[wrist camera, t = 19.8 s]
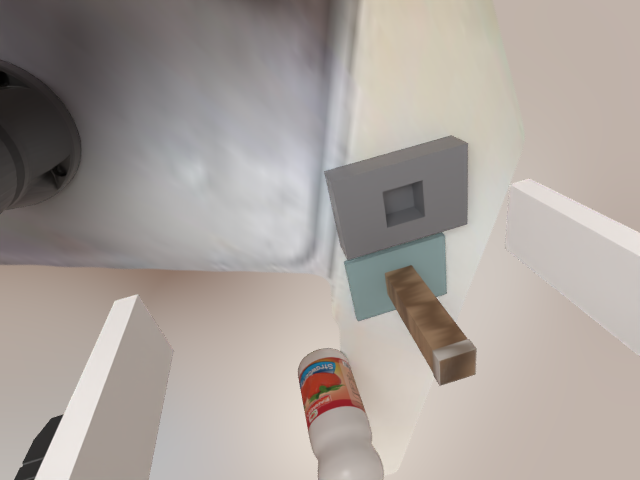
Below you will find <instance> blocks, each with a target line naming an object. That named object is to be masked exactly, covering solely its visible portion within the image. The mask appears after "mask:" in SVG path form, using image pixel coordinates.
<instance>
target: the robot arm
mask: <svg viewBox="0 0 640 480" xmlns="http://www.w3.org/2000/svg"><path fill="white" fill-rule="evenodd" d="M80 157H81V145H80V138H79V134H78V131H77V128H76V125H75V123H74V121H73V119H72V117H71V115H70V113H69V112H68V110H67V109H66V107H65V106H64V105H63V103H62V102H61V101H60V99H59V98H58V97H57V96H56V95H55V94H54V93H53V92H52V91H51V90H50V89H49V88H48V87H47V86H46V85H44V84H43V83H42V82H41V81H39V80H38V79H37V78H35V77H34V76H32V75H31V74H29V73H28V72H26V71H24V70H22V69H21V68H19V67H17V66H15V65H12V64H10V63H8V62H5V61H2V60H0V214H1V213H2V212H3V211H4V210H8V209H14V208H19V207H24V206H29V205H34V204H37V203H40V202H42V201H44V200H46V199H48V198H50V197H52V196H54V195H55V194H56V193H58V192H59V191H60V190H61V189H62V188H63V187H64V186H66V185H67V184H68V183H69V182H70V180H71V179H72V178H73V176H74V175H75V173H76V171H77V169H78V166H79V162H80ZM505 249H506V250H508V251H509V252H510V253H511V254H512V255H514V256H515V257H516V258H517V259H518V260H520V261H521V262H522V263H523V264H525V265H526V266H527V267H528V268H530V269H531V270H532V271H534V272H535V273H536V274H537V275H538V276H540V277H541V278H542V279H543V280H545V281H546V282H547V283H549V284H550V285H551V286H552V287H553V288H555V289H556V290H557V291H559V292H560V293H561V294H562V295H563V296H565V297H566V298H567V299H568V300H570V301H571V302H572V303H573V304H575V305H576V306H577V307H579V308H580V309H581V310H582V311H583V312H585V313H586V314H587V315H589V316H590V317H591V318H592V319H594V320H595V321H596V322H597V323H598V324H600V325H601V326H602V327H604V328H605V329H606V330H607V331H609V332H610V333H611V334H612V335H614V336H615V337H616V338H617V339H619V340H620V341H621V342H622V343H623V344H625V345H626V346H627V347H629V348H630V349H631V350H632V351H634V352H635V353H636V354H637V355H639V356H640V233H639V232H637V231H635V230H633V229H631V228H629V227H627V226H625V225H623V224H620V223H619V222H616V221H615V220H612V219H610V218H609V217H607V216H605V215H602V214H600V213H599V212H596V211H594V210H592V209H590V208H588V207H586V206H584V205H582V204H580V203H578V202H576V201H574V200H572V199H570V198H568V197H566V196H564V195H562V194H560V193H558V192H556V191H554V190H552V189H550V188H548V187H546V186H544V185H542V184H540V183H538V182H536V181H534V180H532V179H530V178H529V179H526V180H523V181H519V182H516V183H512V184H509V198H508V211H507V225H506V240H505ZM172 356H173V348H172V347H171V345H170V344H169V342H168V341H167V339H166V337H165V336H164V334H163V333H162V331H161V329H160V328H159V326H158V325H157V324H156V322H155V320H154V318H153V317H152V315H151V314H150V312H149V310H148V309H147V307H146V306H145V304H144V303H143V301H142V299H141V298H140V296H139V295H138V294H136V295H133V296H130V297H126V298H123V299H119V300H116V301H115V302H114V304H113V306H112V309H111V310H110V313H109V315H108V317H107V320H106V322H105V324H104V326H103V328H102V330H101V333H100V335H99V337H98V340H97V342H96V344H95V346H94V348H93V351H92V353H91V355H90V357H89V359H88V362H87V364H86V366H85V369H84V371H83V373H82V375H81V377H80V380H79V382H78V384H77V386H76V388H75V391H74V393H73V395H72V397H71V399H70V402H69V404H68V406H67V409H66V411H65V413H64V414H63V415H61V416H57V417H54V418H51V419H50V421H49V422H48V423H47V424H46V426H45V427H44V428H43V429H42V431H41V432H40V433H39V434H38V435H37V437H36V438H35V439H34V441H33V443H32V445H31V447H30V449H29V451H28V453H27V455H26V457H25V459H24V461H23V467H21V468H20V469H19V471H18V473H17V475H16V477H15V479H14V480H148V479H149V475H150V469H151V464H152V459H153V454H154V448H155V444H156V439H157V433H158V427H159V423H160V418H161V413H162V408H163V402H164V397H165V392H166V387H167V382H168V376H169V372H170V366H171V361H172Z"/></svg>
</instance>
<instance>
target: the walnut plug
mask: <svg viewBox="0 0 640 480" xmlns="http://www.w3.org/2000/svg"><path fill="white" fill-rule="evenodd" d="M385 279H386V287H387V294H388V296H389V298H390V299H391V301H392V303H393V305H394V306H395V308H396V310H397V311H398V313H399V315H400V317H401V318H402V320H403V322H404V323H405V325H406V327H407V329H408V330H409V332H410V334H411V335H412V337H413V339H414V341H415V342H416V344H417V346H418V348H419V349H420V351H421V353H422V354H423V356H424V358H425V360H426V361H427V363H428V365H429V366H430V368H431V370H432V372H433V374H434V377H435V379H436V380H437V382H438V384H439V386H441V385H444V384H447V383H450V382H453V381H457V380H459V379H463V378H466V377H469V376H472V375H475V374H476V347H475V346H474V345H473V344H472V342H471V341H470V340H469V339H467V337H466V336H465V335H464V334H463V332H462V331H461V330H460V328H459V327H458V326H457V324H456V323H455V322H454V320H453V319H452V318H451V316H450V315H449V314H448V312H447V311H446V310H445V309H444V307H443V306H442V305H441V303H440V302H439V301H438V299H437V298H436V297H435V295H434V294H433V293H432V291H431V290H430V289H429V287H428V286H427V285H426V283H425V282H424V281H423V280H422V278H421V277H420V276H419V274H418V273H417V272H416V270H415V269H414V268H413V266H412V265H410V266H407V267H403V268H400V269H397V270H393V271H390V272H386V273H385Z"/></svg>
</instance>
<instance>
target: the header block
mask: <svg viewBox="0 0 640 480" xmlns="http://www.w3.org/2000/svg"><path fill="white" fill-rule="evenodd" d="M324 172H325V177H326V182H327V186H328V191H329V195H330V200H331V204H332V209H333V213H334V218H335V223H336V227H337V232H338V236H339V241H340V245H341V248H342V250H343V252H344V254H345V256H346V258H347V260H349V259H353V258H356V257H359V256H363V255H366V254H369V253H373V252H376V251H379V250H383V249H386V248H389V247H393V246H396V245H399V244H403V243H406V242H409V241H413V240H416V239H419V238H423V237H426V236H429V235H433V234H436V233H439V232H443V231H446V230H449V229H453V228H456V227H459V226H463V225H466V224H467V188H468V143H466V142H464V141H462V140H460V139H458V138H456V137H454V136H452V135H451V136H448V137H444V138H441V139H437V140H434V141H430V142H427V143H423V144H420V145H416V146H413V147H409V148H406V149H402V150H398V151H395V152H391V153H388V154H384V155H381V156H377V157H374V158H370V159H367V160H363V161H360V162H356V163H352V164H349V165H345V166H342V167H338V168H335V169H331V170H328V171H324Z"/></svg>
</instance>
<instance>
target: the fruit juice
mask: <svg viewBox="0 0 640 480" xmlns="http://www.w3.org/2000/svg"><path fill="white" fill-rule="evenodd" d="M298 378H299V383H300V389H301V394H302V400H303V405H304V411H305V416H306V421H307V427H308V432H309V438H310V443H311V446H312V450H313V453H314V455H315V456H316V458H317V459H318V480H383V478H384V470H383V465H382V462H381V459H380V456H379V455H378V453H377V451H376V450H375V448H374V447H373V445H372V432H371V427H370V424H369V420H368V417H367V414H366V412H365V409H364V406H363V403H362V400H361V397H360V394H359V391H358V388H357V386H356V383H355V380H354V377H353V374H352V371H351V368H350V365H349V362H348V360H347V358H346V357H345V355H344V354H343V353H342V352H340V351H338V350H336V349H331V348H325V349H319V350H316V351H313V352H311V353H310V354H308V355H307V356H306V357H304V358H303V360H302V361H301V363H300V365H299V368H298Z"/></svg>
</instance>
